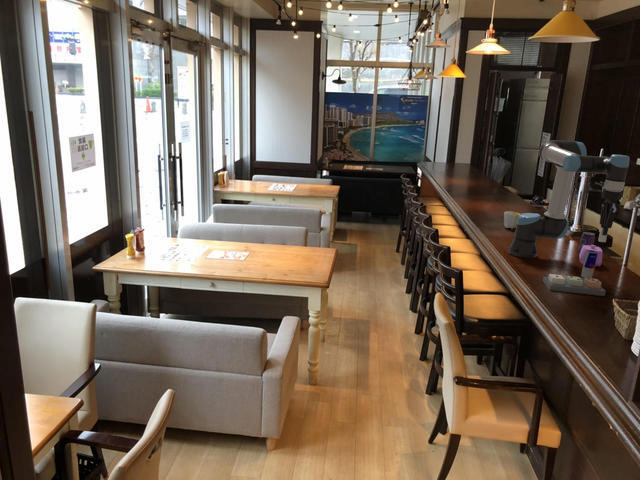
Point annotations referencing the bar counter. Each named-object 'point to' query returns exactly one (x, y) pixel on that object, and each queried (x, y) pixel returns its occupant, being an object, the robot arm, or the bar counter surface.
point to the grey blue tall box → (589, 264)
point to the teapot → (592, 247)
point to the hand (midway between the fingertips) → (601, 241)
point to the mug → (510, 219)
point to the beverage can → (586, 239)
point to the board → (574, 288)
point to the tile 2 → (574, 281)
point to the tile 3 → (592, 283)
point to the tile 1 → (556, 279)
